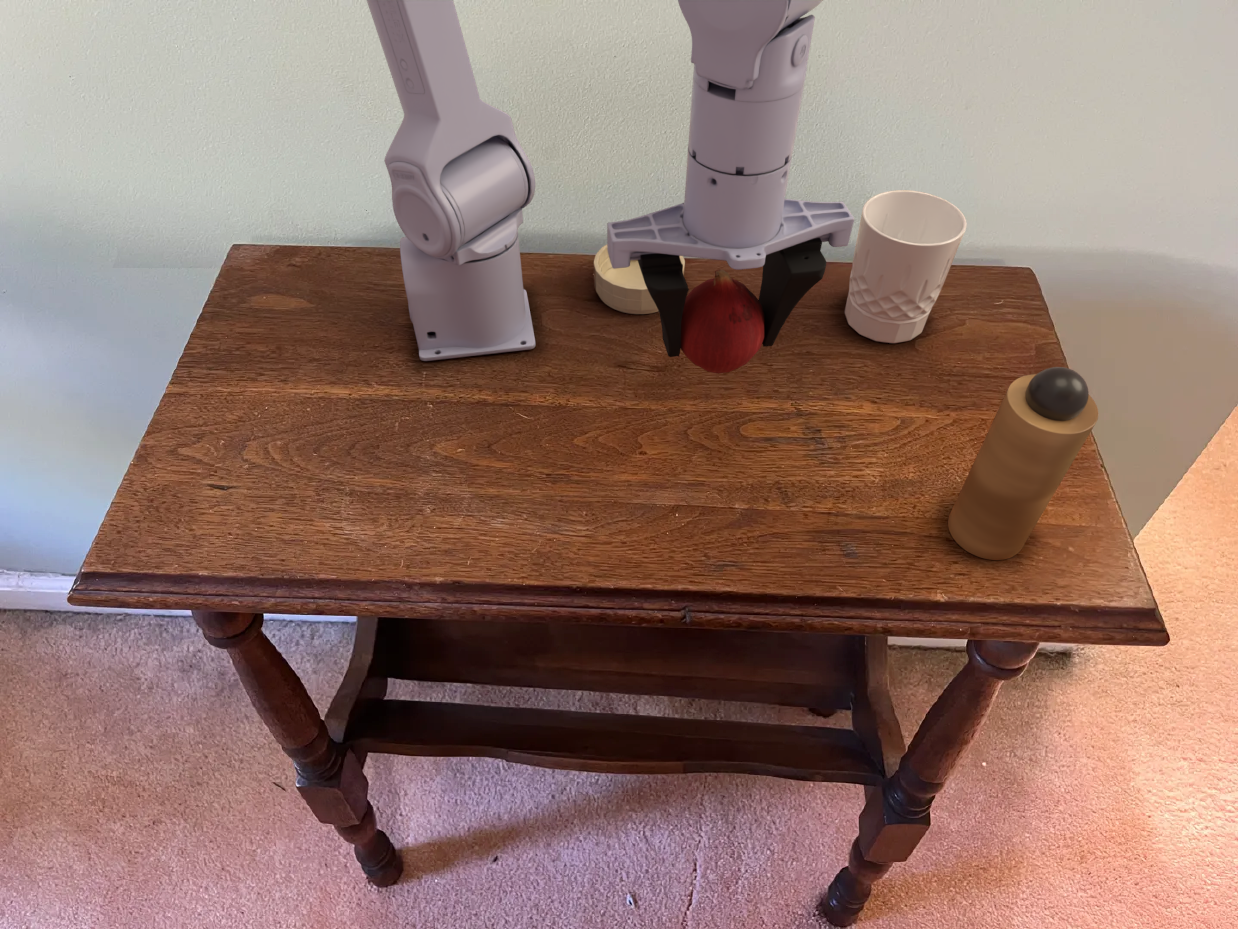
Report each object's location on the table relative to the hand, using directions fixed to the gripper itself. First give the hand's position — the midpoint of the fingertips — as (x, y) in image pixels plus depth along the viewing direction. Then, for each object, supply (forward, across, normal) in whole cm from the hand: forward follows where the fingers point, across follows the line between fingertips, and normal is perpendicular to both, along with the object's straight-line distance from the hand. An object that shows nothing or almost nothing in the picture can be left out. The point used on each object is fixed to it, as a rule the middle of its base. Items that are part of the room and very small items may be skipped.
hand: (717, 342), depth 57 cm
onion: (+3, 0, 0) cm, 3 cm away
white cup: (+10, +19, +11) cm, 24 cm away
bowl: (+9, -1, +19) cm, 21 cm away
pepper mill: (+9, +17, -12) cm, 22 cm away
